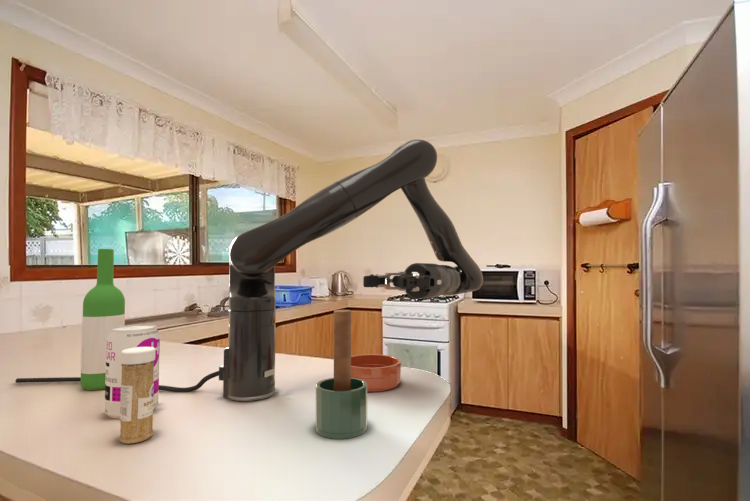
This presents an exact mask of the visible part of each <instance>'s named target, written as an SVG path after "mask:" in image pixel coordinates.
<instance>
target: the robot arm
mask: <svg viewBox="0 0 750 501" xmlns="http://www.w3.org/2000/svg"><path fill="white" fill-rule="evenodd" d="M437 162H438V152H437V149H436V148H435V146H434V145H433V144H432V143H430V142H429V141H427V140H425V139H420V138H419V139H417V138H415V139H410V140H408V141H406V142H404V143H402V144H401V145H399V146H398V147H396V148H395V149H393V151H392V152H391V154H390V155H388V156H387V157H386V158H384V159H382V160H381V161H379V162H377V163H375V164H373V165H371V166H367V167H365V168H363V169H360V170H358V171H356V172H353V173H351V174H349V175H347V176H345V177H342V178H340V179H338V180H336V181H335V182H333V183H330V184H329V185H327V186H326V187H325V186H324V187H323V188H321V189H320V190H318V191H317V192H315V193H314V194H312V195H311V196H309V197H308V198H306V199H305V200H303V201H302V202H301V203H299V204H298V205H296V206H295V207H294V208H293V209H291V210H290V211H288V212H286V213H284V214H283V215H281V216H279V217H277V218H275V219H272V220H271V221H268V222H266V223H264V224H261V225H259V226H257V227H255V228H252V229H249V230H246V231H244V232H241V233H239V234H238V235H237V236H236V237H235V238H234V239H233V240H232V242H231V244H230V246H229V250H228V251H229V252H228V255H229V282H228V283H229V284H228V287H229V288H228V329H227V330H228V335H227V336H228V337H227V339H228V340H227V341H228V342H227V343H228V344H227V347H225V348H224V349H223V365H220V366H219V367H218V370H216V371H214V372H211V373H209V374H207V375H206V376H203V377H202V378H201V379H200V380H199V381H198V382H197V383H196V384H195V385H192V386H187V387H177V386H170V385H162V384H159V391H163V392H164V391H165V392H172V393H190V392H194V391H197V390H199V389H200V388H202V387H203V386H204V384H205V383H206V382H208V381H209V380H212V379H213V378H216V377H218V381H222V386H223V388H222V398H224V399H225V398H226V399H229V400H231V401H237V402H252V401H253V402H254V401H258V400H264V399H267V398H269V397H272V396H274V395H275V393H276V315H277V314H276V313H277V312H276V306H277V304H276V302H277V297H276V266H277V265H278V264H279V263H280V262H282V261H283V260H284V259H286V258H288V256H289V255H292V253H294V252H295V251H297V250H298V249H300V248H301V247H303V246H305V245H306V244H309V243H312V242H313V241H315V240H318V239H320V238H323V237H325V236H327V235H329V234H331V233H333V232H335V231H337V230H339V229H341V228H342V227H345V226H346V225H348V224H349V223H351V222H353V221H354V220H356V219H358V218H359V217H361V216H363V215H364V214H366V213H367V212H368V211H369V210H371V209H372V208H374V207H375V206H377V205H378V204H379V203H381V202H382V201H383V200H385V199H386V198H387V197H389V196H390V195H391V194H394V193H395V192H397V191H398V190H401V191H402V193H403V194H404V196H405V198H406V199H407V201H408V202H409V204H410V206H411V208H412V210H413V211H414V213H415V215H416V216H417V219H418V220H419V223H420V224H421V227H422V228H423V230H424V232H425V235H426V238H427V239H428V243H429V244H430V246H431V248H432V251H433V253H434V256H435V258H436V259H437V260H438V261H439V262H443V263H445V262H446V263H447V262H448V263H453V264H455V266H452V265H448V264H437V263H431V262H429V263H426V262H425V263H424V262H414V263H411V264H410V265H408V266H407V267H406V268H405V269H404V270H403V271H397V272H384V274H377V273H376V274H373V273H371V274H369V275H364V276H363V279H362V280H363V281H362V283H363V284H362V285H363V288H375V289H379V288H384V289H385V290H386V291H387V290H389V291H391V290H393V291H394V290H398V291H400V292H405V294H406V295H407V296H409V297H410V298H412V299H414V300H415V299H416V300H421V299H423V300H424V299H431V298H438V297H441V296H448V297H451V296H459V295H463V294H466V293H467V294H468V293H472V292H476V291H479V290H480V289H481V288H482V286H483V284H484V275H483V272H482V270H481V268H480V267H479V265H478V263H477V262H475V260H474V258H473V257H472V256H471V255H470V254H469V253H468V251H467V250H466V249H465V247H464V245H463V243H462V241H461V239H460V237H459V234H458V232H457V230H456V228H455V225H454V223H453V221H452V220H451V218H450V217H449V215H448V214H447V212H445V210H444V209H443V208H442V207H441V206H440V203H438V201H437V200H436V198H434V195H432V192H431V190H430V188H429V185H428V184H427V181H426V178H427V177H428V176H430V175H431V174H432V173H433V171H434V170H435V168H436V166H437ZM391 276H392V278H391ZM391 284H392V285H393V286H391ZM14 382H15V383H16V384H17V383H18V384H22V383H24V384H25V383H27V384H28V383H70V382H71V383H72V382H75V383H76V382H77V383H81V376H74V377H73V376H68V377H65V376H64V377H60V376H59V377H21V378H19V377H18V378H16V379H15V381H14Z"/></svg>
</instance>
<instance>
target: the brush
mask: <svg viewBox="0 0 750 501" xmlns="http://www.w3.org/2000/svg"><path fill="white" fill-rule="evenodd" d="M351 356H352V310H350V309H335V310H333V378H334V391H348V390H351Z"/></svg>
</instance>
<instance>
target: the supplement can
mask: <svg viewBox="0 0 750 501" xmlns="http://www.w3.org/2000/svg"><path fill="white" fill-rule="evenodd" d="M135 347H154V348H155V360H154V377H153V379H154V380H153V383H154V400H153V411H155V408H156V407H157V406H158V405H159V391H160V390H159V385H160V383H159V382H160V352H161V350H160V347H161V333H160V331H159V330H158V328H157V325H155V324H132V325H130V324H129V325H125V326H121V327H115V328H112V329H111V332H110V333H109V335H108V337H107V344H106V378H105V389H104V413H105V415H108V417H109V418H110V419H117V420H118V419H119V420H120V399H121V381H122V366H121V365H122V363H121V352H122V351H123V350H125V349H128V348H135Z"/></svg>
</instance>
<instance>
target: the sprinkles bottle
mask: <svg viewBox="0 0 750 501" xmlns="http://www.w3.org/2000/svg"><path fill="white" fill-rule="evenodd" d="M154 360H155V348H154V347H135V348H128V349H125V350H123V351H122V352H121V363H122V365H121V366H122V381H121V399H120V419H119V420H120V430H119V432H120V433H119V434H120V435H119V436H118V441H119V442H120V443H122V444H128V445H129V444H138V443H141V442H143V441H146V440H148V439H150V438H151V437H153V435H154V428H153V426H154V410H153V400H154V383H153V380H154V379H153V377H154Z"/></svg>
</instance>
